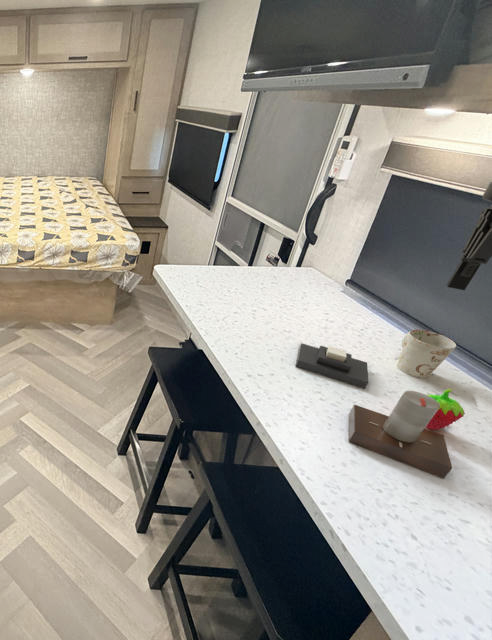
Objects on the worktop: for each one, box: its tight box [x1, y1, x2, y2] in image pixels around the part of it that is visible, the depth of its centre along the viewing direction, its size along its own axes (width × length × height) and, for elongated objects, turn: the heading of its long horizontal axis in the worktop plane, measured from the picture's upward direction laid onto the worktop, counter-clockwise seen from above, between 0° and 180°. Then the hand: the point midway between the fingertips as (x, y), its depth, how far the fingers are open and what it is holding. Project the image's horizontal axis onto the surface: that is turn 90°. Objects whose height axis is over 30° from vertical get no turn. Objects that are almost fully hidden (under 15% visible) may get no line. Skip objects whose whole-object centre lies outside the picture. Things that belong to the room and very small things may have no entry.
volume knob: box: [383, 390, 440, 443], centre depth 78 cm, size 5×5×9 cm
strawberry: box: [425, 388, 466, 431], centre depth 83 cm, size 6×7×10 cm
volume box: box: [348, 404, 453, 479], centre depth 81 cm, size 14×10×3 cm
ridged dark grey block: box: [294, 342, 369, 390], centre depth 103 cm, size 14×10×4 cm
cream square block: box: [326, 345, 347, 362], centre depth 101 cm, size 4×4×2 cm
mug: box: [396, 329, 457, 379], centre depth 102 cm, size 8×13×10 cm, turn 163°
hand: (455, 287), depth 91 cm, fingers closed
